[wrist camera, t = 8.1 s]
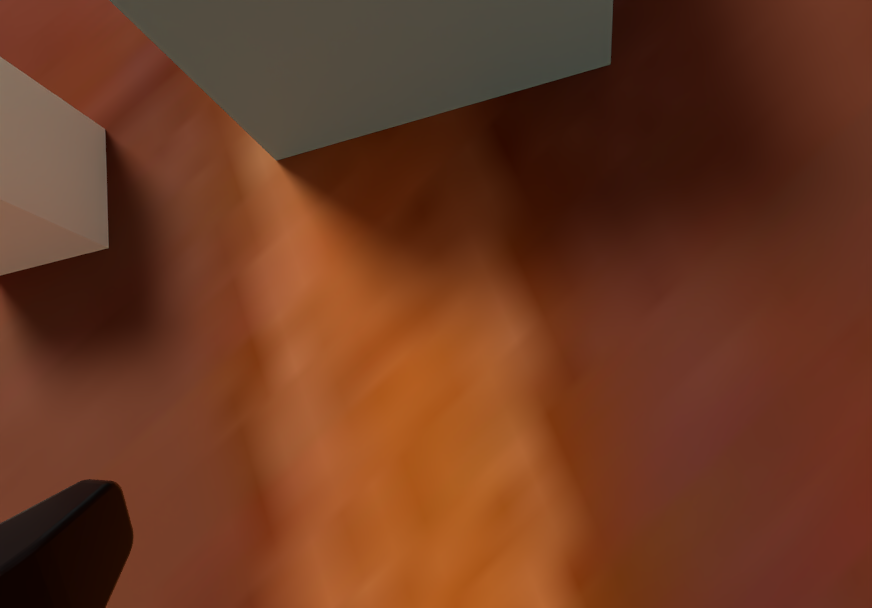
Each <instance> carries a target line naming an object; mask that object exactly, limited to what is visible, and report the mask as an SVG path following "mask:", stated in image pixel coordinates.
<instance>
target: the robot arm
mask: <svg viewBox="0 0 872 608" xmlns="http://www.w3.org/2000/svg"><path fill="white" fill-rule="evenodd" d="M132 544H133V528H132V525H131V521H130V517H129V514H128V510H127V506H126V502H125V499H124V495H123V491H122V489H121V487H120V486H119V485H118V484H117V483H116V482H113V481H105V480H91V479H89V480H83V481H80V482H78V483H76V484H74V485H72V486H70V487H68V488H66V489H65V490H63V491H61V492H59V493H57V494H55V495H53V496H51V497H49V498H48V499H46V500H44V501H42V502H40V503H38V504H36V505H34V506H32V507H31V508H29V509H27V510H25V511H23V512H21V513H19V514H17V515H15V516H14V517H12V518H10V519H8V520H6V521H4V522H2V523H0V608H106V606H107V603H108V601H109V599H110V597H111V594H112V592H113V590H114V588H115V585H116V583H117V581H118V579H119V576H120V574H121V572H122V570H123V567H124V565H125V563H126V561H127V559H128V556H129V554H130V551H131V548H132Z"/></svg>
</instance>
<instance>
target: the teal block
mask: <svg viewBox="0 0 872 608" xmlns="http://www.w3.org/2000/svg"><path fill="white" fill-rule="evenodd" d="M110 1H111V2H112V3H113V4H114V5H115V6H116V7H117V8H118V9H119V10H120V11H121V12H122V13H123V14H124V15H125V16H126V17H127V18H129V19H130V20H131V21H132V22H133V23H134V24H135V25H136V26H137V27H138V28H139V29H140V30H141V31H142V32H143V33H144V34H145V35H146V36H147V37H148V38H149V39H150V40H151V41H152V42H153V43H155V44H156V45H157V46H158V47H159V48H160V49H161V50H162V51H163V52H164V53H165V54H166V55H167V56H168V57H169V58H170V59H171V60H172V61H173V62H174V63H175V64H176V65H177V66H178V67H180V68H181V69H182V70H183V71H184V72H185V73H186V74H187V75H188V76H189V77H190V78H191V79H192V80H193V81H194V82H195V83H196V84H197V85H198V86H199V87H200V88H201V89H202V90H203V91H204V92H206V93H207V94H208V95H209V96H210V97H211V98H212V99H213V100H214V101H215V102H216V103H217V104H218V105H219V106H220V107H221V108H222V109H223V110H224V111H225V112H226V113H227V114H228V115H229V116H231V117H232V118H233V119H234V120H235V121H236V122H237V123H238V124H239V125H240V126H241V127H242V128H243V129H244V130H245V131H246V132H247V133H248V134H249V135H250V136H251V137H252V138H253V139H254V140H255V141H257V142H258V143H259V144H260V145H261V146H262V147H263V148H264V149H265V150H266V151H267V152H268V153H269V154H270V155H271V156H272V157H273V158H274V159H275V160H276V161H277V160H280V159H283V158H287V157H290V156H294V155H297V154H301V153H304V152H308V151H311V150H315V149H318V148H322V147H325V146H329V145H332V144H336V143H339V142H343V141H346V140H350V139H353V138H357V137H360V136H363V135H367V134H370V133H374V132H377V131H381V130H384V129H388V128H391V127H395V126H398V125H402V124H405V123H409V122H412V121H416V120H419V119H423V118H426V117H430V116H433V115H436V114H440V113H443V112H447V111H450V110H454V109H457V108H461V107H464V106H468V105H471V104H475V103H478V102H482V101H485V100H489V99H492V98H496V97H499V96H503V95H506V94H510V93H513V92H516V91H520V90H523V89H527V88H530V87H534V86H537V85H541V84H544V83H548V82H551V81H555V80H558V79H562V78H565V77H569V76H572V75H576V74H579V73H583V72H586V71H589V70H593V69H596V68H600V67H603V66H607V65H610V64H611V41H612V15H613V0H110Z"/></svg>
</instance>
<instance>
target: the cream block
mask: <svg viewBox="0 0 872 608" xmlns="http://www.w3.org/2000/svg"><path fill="white" fill-rule="evenodd" d="M107 248H109V238H108V204H107V169H106V135H105V129H104V128H103V127H101V126H100V125H98V124H97V123H95V122H94V121H93V120H91V119H90V118H88V117H87V116H85V115H84V114H82V113H81V112H80V111H78V110H77V109H75V108H74V107H72V106H71V105H69V104H68V103H66V102H65V101H64V100H62V99H61V98H59V97H58V96H56V95H55V94H53V93H52V92H50V91H49V90H48V89H46V88H45V87H43V86H42V85H40V84H39V83H37V82H36V81H35V80H33V79H32V78H30V77H29V76H27V75H26V74H24V73H23V72H21V71H20V70H19V69H17V68H16V67H14V66H13V65H11V64H10V63H8V62H7V61H6V60H4V59H3V58H1V57H0V276H1V275H5V274H8V273H12V272H16V271H20V270H24V269H28V268H32V267H36V266H40V265H44V264H48V263H52V262H56V261H60V260H64V259H68V258H71V257H75V256H79V255H83V254H87V253H91V252H95V251H99V250H103V249H107Z"/></svg>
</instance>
